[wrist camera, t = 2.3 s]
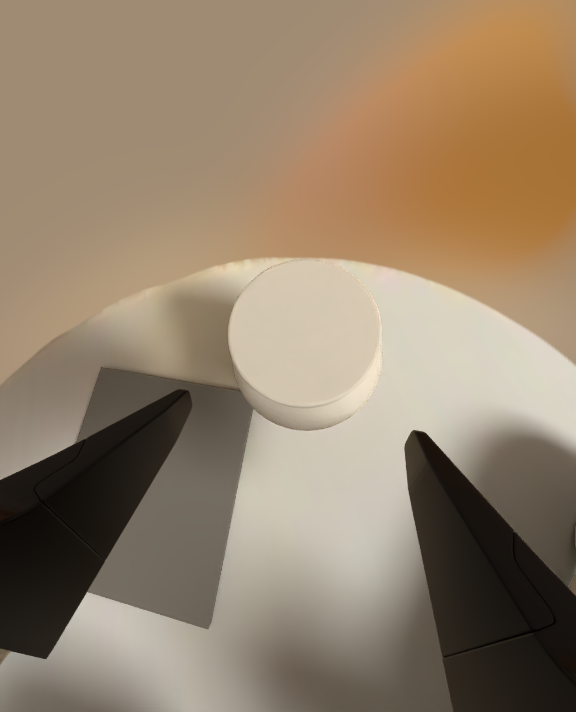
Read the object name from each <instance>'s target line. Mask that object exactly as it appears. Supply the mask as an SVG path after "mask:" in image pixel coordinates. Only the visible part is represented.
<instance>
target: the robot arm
mask: <svg viewBox="0 0 576 712" xmlns="http://www.w3.org/2000/svg"><path fill="white" fill-rule="evenodd" d="M191 410H192V400H191V395H190V392H189V391H188V390H185V389H177V390H175V391H173V392H171V393H170V394H168V395H166V396H164V397H162V398H160V399H158V400H156V401H155V402H153V403H151V404H149V405H147V406H145V407H143V408H141V409H140V410H138V411H136V412H134V413H132V414H130V415H128V416H126V417H125V418H123V419H121V420H119V421H117V422H115V423H113V424H111V425H110V426H108V427H106V428H104V429H102V430H100V431H98V432H96V433H95V434H93V435H91V436H89V437H87V438H86V439H83V440H81V441H79V442H78V443H76V444H74V445H72V446H70V447H68V448H66V449H64V450H62V451H60V452H58V453H56V454H54V455H52V456H50V457H48V458H46V459H44V460H42V461H40V462H38V463H36V464H34V465H31V466H29V467H27V468H25V469H23V470H21V471H19V472H16V473H14V474H12V475H10V476H8V477H6V478H4V479H1V480H0V665H1V664H2V662H3V661H4V660H5V658H6V657H7V656H8V654H9V653H10V651H12V652H17V653H21V654H25V655H30V656H34V657H39V658H43V659H46V658H47V657H48V656H49V654H50V653H51V651H52V650H53V648H54V646H55V645H56V643H57V641H58V640H59V638H60V636H61V635H62V633H63V631H64V630H65V628H66V626H67V625H68V623H69V621H70V620H71V618H72V616H73V615H74V613H75V611H76V610H77V608H78V606H79V605H80V603H81V601H82V600H83V598H84V596H85V595H86V593H87V591H88V589H89V588H90V586H91V584H92V583H93V581H94V579H95V578H96V576H97V574H98V573H99V571H100V569H101V568H102V566H103V564H104V563H105V560H106V559H107V557H108V556H109V554H110V552H111V551H112V549H113V547H114V546H115V544H116V542H117V541H118V539H119V537H120V536H121V534H122V532H123V531H124V529H125V527H126V526H127V524H128V522H129V521H130V519H131V517H132V515H133V514H134V512H135V510H136V509H137V507H138V505H139V504H140V502H141V500H142V499H143V497H144V495H145V494H146V492H147V490H148V489H149V487H150V485H151V484H152V482H153V480H154V479H155V477H156V475H157V474H158V472H159V470H160V469H161V467H162V465H163V464H164V462H165V460H166V459H167V457H168V455H169V454H170V452H171V450H172V449H173V447H174V445H175V443H176V442H177V440H178V438H179V436H180V433H181V431H182V429H183V427H184V425H185V423H186V420H187V418H188V416H189V414H190V412H191ZM405 460H406V471H407V482H408V490H409V496H410V501H411V506H412V511H413V516H414V521H415V525H416V530H417V535H418V540H419V545H420V550H421V555H422V560H423V564H424V569H425V574H426V579H427V584H428V589H429V594H430V599H431V603H432V608H433V613H434V618H435V623H436V628H437V633H438V638H439V643H440V647H441V652H442V656H443V657H444V658H443V663H444V668H445V673H446V678H447V682H448V687H449V692H450V697H451V702H452V707H453V712H576V595H575V594H574V593H573V592H572V591H571V590H570V589H569V588H568V587H567V586H566V585H565V584H564V583H563V582H562V581H561V580H560V579H559V578H558V577H557V576H556V575H555V574H554V573H553V572H552V571H551V570H550V569H549V568H548V567H547V566H546V565H545V564H544V562H543V561H542V560H541V559H540V558H539V557H538V556H537V555H536V554H535V553H534V552H533V551H532V550H531V548H530V547H529V546H528V545H527V544H526V543H525V542H524V541H523V540H522V539H521V537H520V536H519V535H518V534H517V533H516V532H514V530H513V529H512V528H511V527H510V525H509V524H508V523H507V522H506V521H505V520H504V519H503V518H502V517H501V515H500V514H499V513H498V512H497V511H496V510H495V509H494V508H493V507H492V506H491V504H490V503H489V502H488V501H487V500H486V499H485V498H484V497H483V496H482V494H481V493H480V492H479V491H478V490H477V489H476V488H475V487H474V486H473V485H472V483H471V482H470V481H469V480H468V479H467V478H466V477H465V476H464V475H463V473H462V472H461V471H460V470H459V469H458V468H457V467H456V466H455V465H454V463H453V462H452V461H451V460H450V459H449V458H448V457H447V456H446V455H445V454H444V452H443V451H442V450H441V449H440V448H439V447H438V446H437V445H436V444H435V442H434V441H433V440H432V439H431V438H430V437H429V436H428V435H427V434H426V433H425V432H422V431H417V430H413V431H412V432H411V433H410V435H409V437H408V439H407V441H406V443H405Z"/></svg>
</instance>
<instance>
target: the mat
mask: <svg viewBox="0 0 576 712" xmlns="http://www.w3.org/2000/svg"><path fill="white" fill-rule="evenodd" d="M177 389H185V390H188V391H189V392H190V395H191V400H192V410H191V412H190V414H189V416H188V418H187V420H186V423H185V425H184V427H183V429H182V431H181V433H180V436H179V438H178V440H177V442H176V443H175V445H174V447H173V449H172V450H171V452H170V454H169V455H168V457H167V459H166V460H165V462H164V464H163V465H162V467H161V469H160V470H159V472H158V474H157V475H156V477H155V479H154V480H153V482H152V484H151V485H150V487H149V489H148V490H147V492H146V494H145V495H144V497H143V499H142V500H141V502H140V504H139V505H138V507H137V509H136V510H135V512H134V514H133V515H132V517H131V519H130V521H129V522H128V524H127V526H126V527H125V529H124V531H123V532H122V534H121V536H120V537H119V539H118V541H117V542H116V544H115V546H114V547H113V549H112V551H111V552H110V554H109V556H108V557H107V559H106V560H105V563H104V564H103V566H102V568H101V569H100V571H99V573H98V574H97V576H96V578H95V579H94V581H93V583H92V584H91V586H90V588H89V589H88V591H87V592H89V593H93V594H96V595H99V596H102V597H105V598H109V599H112V600H115V601H118V602H122V603H125V604H128V605H131V606H134V607H138V608H141V609H144V610H147V611H151V612H154V613H157V614H160V615H163V616H167V617H170V618H173V619H176V620H180V621H183V622H186V623H189V624H192V625H196V626H199V627H202V628H205V629H208V628H209V626H210V624H211V620H212V615H213V610H214V605H215V600H216V595H217V590H218V585H219V580H220V574H221V569H222V564H223V559H224V554H225V549H226V544H227V539H228V534H229V528H230V523H231V518H232V513H233V508H234V503H235V498H236V493H237V488H238V482H239V477H240V472H241V467H242V462H243V457H244V452H245V447H246V442H247V436H248V431H249V426H250V421H251V416H252V411H253V407H252V406H251V405H250V404H249V403H248V402H247V400H246V399H245V397H244V396H243V394H242V392H241V391H237V390H231V389H225V388H220V387H214V386H208V385H202V384H196V383H191V382H185V381H179V380H173V379H167V378H162V377H156V376H150V375H144V374H138V373H133V372H127V371H121V370H115V369H110V368H104V367H101V369H100V372H99V375H98V378H97V381H96V384H95V387H94V391H93V394H92V397H91V400H90V403H89V406H88V409H87V412H86V415H85V418H84V421H83V424H82V427H81V430H80V433H79V436H78V439H77V442H76V443H78V442H79V441H81V440H83V439H86V438H87V437H89V436H91V435H93V434H95V433H96V432H98V431H100V430H102V429H104V428H106V427H108V426H110V425H111V424H113V423H115V422H117V421H119V420H121V419H123V418H125V417H126V416H128V415H130V414H132V413H134V412H136V411H138V410H140V409H141V408H143V407H145V406H147V405H149V404H151V403H153V402H155V401H156V400H158V399H160V398H162V397H164V396H166V395H168V394H170V393H171V392H173V391H175V390H177Z"/></svg>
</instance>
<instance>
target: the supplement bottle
mask: <svg viewBox="0 0 576 712" xmlns="http://www.w3.org/2000/svg"><path fill="white" fill-rule="evenodd" d="M381 338H382V327H381V319H380V314H379V311H378V307H377V305H376V303H375V301H374V299H373V297H372V295H371V294H370V292H369V291H368V289H367V288H366V287H365V286H364V285H363V284H362V282H361V281H360V280H358V279H357V278H356V277H355V276H354V275H353V274H351V273H350V272H348V271H347V270H345V269H343V268H341V267H339V266H337V265H334V264H332V263H328V262H324V261H320V260H312V259H301V260H292V261H287V262H283V263H281V264H278V265H275V266H273V267H271V268H269V269H267V270H265V271H264V272H262V273H261V274H259V275H258V276H257V277H255V278H254V279H253V280H252V281H251V282H250V283H249V284H248V285H247V286H246V287H245V288H244V290H243V291H242V292H241V294H240V295H239V297H238V298H237V300H236V302H235V304H234V306H233V309H232V311H231V315H230V318H229V323H228V346H229V351H230V355H231V358H232V362H233V370H234V374H235V378H236V381H237V384H238V386H239V388H240V390H241V392H242V394H243V396H244V397H245V399H246V400H247V402H248V403H249V404H250V405H251V406H252V407H253V408H254V409H255V410H256V411H257V412H258V413H259V414H260V415H262V416H263V417H265V418H266V419H268V420H269V421H271V422H273V423H275V424H277V425H280V426H283V427H286V428H290V429H294V430H305V431H310V430H319V429H324V428H328V427H331V426H334V425H336V424H339V423H341V422H342V421H344V420H346V419H348V418H349V417H351V416H352V415H354V414H355V413H356V412H357V411H358V410H359V409H360V408H361V407H362V406H363V405H364V404H365V403H366V402H367V401H368V399H369V398H370V396H371V394H372V393H373V391H374V389H375V387H376V385H377V382H378V379H379V376H380V372H381V366H382V347H381Z"/></svg>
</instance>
